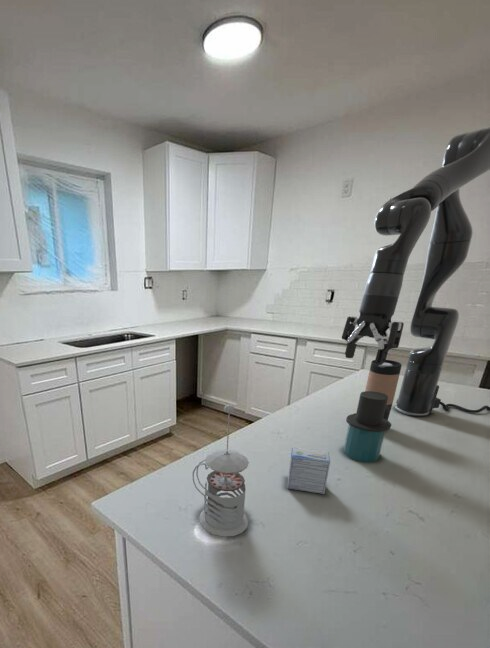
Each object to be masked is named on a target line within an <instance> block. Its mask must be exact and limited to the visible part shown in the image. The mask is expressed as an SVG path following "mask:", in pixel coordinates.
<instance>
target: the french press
mask: <svg viewBox="0 0 490 648" xmlns="http://www.w3.org/2000/svg"><path fill="white" fill-rule="evenodd" d="M223 412H225V413H227V414H228V416H227V434H226V435H227V436H226V449H217V450H214V451H212V452H210V453H208V454H207V455H206V456H205V458H204V459H203V460H201V461H200V462H199V463H198V464H197V465H195V467H194V468H193V470H192V482H193V485H194V487H195V489H196V490H197V491H198V492H199V493H200V494H201V495H202V496H203V497H204V501H203V502H204V503H203V504H204V506H203V507H204V508H203V510H202V511H201V512H200V515H199V524H200V525H201V527H202V528H203V529H204V530H205V531H206V532H209V533H210V534H211V535H216V536H219V537H223V538H224V537H225V538H226V537H235V536H237V535H241V534H243V532H244V531H246V529H248V525H249V519H248V516H247V515H246V514H245V503H246V484H245V482H246V480H245V477H244V476H243V474H241V473H242V472H243V471H245V470H246V469H247V468H248V467H249V463H250V461H249V459H248V457H246V456H245V455H244V454H242V453H241V452H238V451H237V450H233V449H229V438H230V436H229V435H230V416H231V414H232V413H235V406H234V405H233V404H230V403H228V404H226V405H224V406H223ZM204 462H205V463H204ZM202 465H204V467H205V470H208V469H209V468H210V470H212V471H211V472H210V473H208V474H207V477H206V482H205V484H204V485H203V484H202V483H201V481H200V479H199V467H200V466H202ZM195 471H196V479H197V481H198V484H199V485H200V486H201V488H202V489H204V493H203V492H202V491H201V490H200V489H199V488H198V487H197V485H196V482H195ZM221 491H222V492H221ZM219 492H220V493H219ZM231 492H232V493H231ZM222 496H224V497H222ZM227 496H229V497H227Z"/></svg>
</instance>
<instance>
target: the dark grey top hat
mask: <svg viewBox="0 0 490 648" xmlns="http://www.w3.org/2000/svg"><path fill="white" fill-rule="evenodd" d="M387 400H388V396H387V395H385V394H383V393H379V392H374V391H365V390H364V391H362V392H360V394H359V398H358V403H357V408H356V413H351V414H348V415H347V416H346V417H345V418H346V419H345V420H346V424H348V426H349V425H351V426H353V427H355V428H357V429H361V430H365V431H371V432H383V431H385V432H387V431H389V430H390V429H391V427H392V424H391V423H392V422H390V421H389V419H388V420H386V419H384V418H383V417H384V413H385V409H386V404H387Z"/></svg>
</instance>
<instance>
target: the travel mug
mask: <svg viewBox="0 0 490 648" xmlns="http://www.w3.org/2000/svg"><path fill="white" fill-rule="evenodd" d="M374 363H375V359H373V360H372V361H371V363H370V367H369V372H368V376H367V380H366V384H365V389H364V392H365V391H374V392H379V393H383V394H385V395H387V396H388V400H387V404H386V409H385V413H384V417H383V418H384V419H386V420H388V421H389V417H390V414H391V410H392V407H393V403H394V399H395V396H396V392H397V387H398V383H399V380H400V374H401V371H402V366H403V364H402V362H399V361H395V360H391V359H386V361H385V362H384V363H383V364H382V365H376V364H374Z"/></svg>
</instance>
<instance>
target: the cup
mask: <svg viewBox="0 0 490 648" xmlns="http://www.w3.org/2000/svg"><path fill="white" fill-rule="evenodd" d="M385 435H386V431H383V432H371V431H365V430H361V429H357V428H355V427H353V426H351V425H349V424H348V427H347V432H346V436H345V442H344V446H343V453H344V455H345V456H346V457H348V458H350V460H351V459H352V460H354V461H357V462H362V463H373V462H377V461H378V460H379V458H380V454H381V451H382V446H383V443H384V439H385Z"/></svg>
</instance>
